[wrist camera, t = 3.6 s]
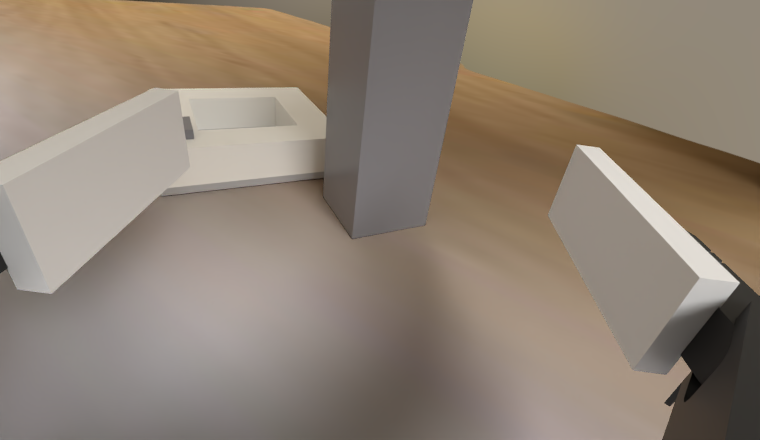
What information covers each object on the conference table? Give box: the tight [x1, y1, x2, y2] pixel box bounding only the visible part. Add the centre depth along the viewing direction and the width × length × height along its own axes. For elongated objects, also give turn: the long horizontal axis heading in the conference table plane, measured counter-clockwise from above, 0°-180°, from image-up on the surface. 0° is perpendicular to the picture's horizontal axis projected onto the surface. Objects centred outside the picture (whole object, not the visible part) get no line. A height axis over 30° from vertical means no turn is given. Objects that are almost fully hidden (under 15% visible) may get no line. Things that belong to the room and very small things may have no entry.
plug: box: [323, 0, 473, 239], centre depth 21 cm, size 5×5×17 cm
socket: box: [148, 87, 327, 196], centre depth 30 cm, size 12×12×4 cm
